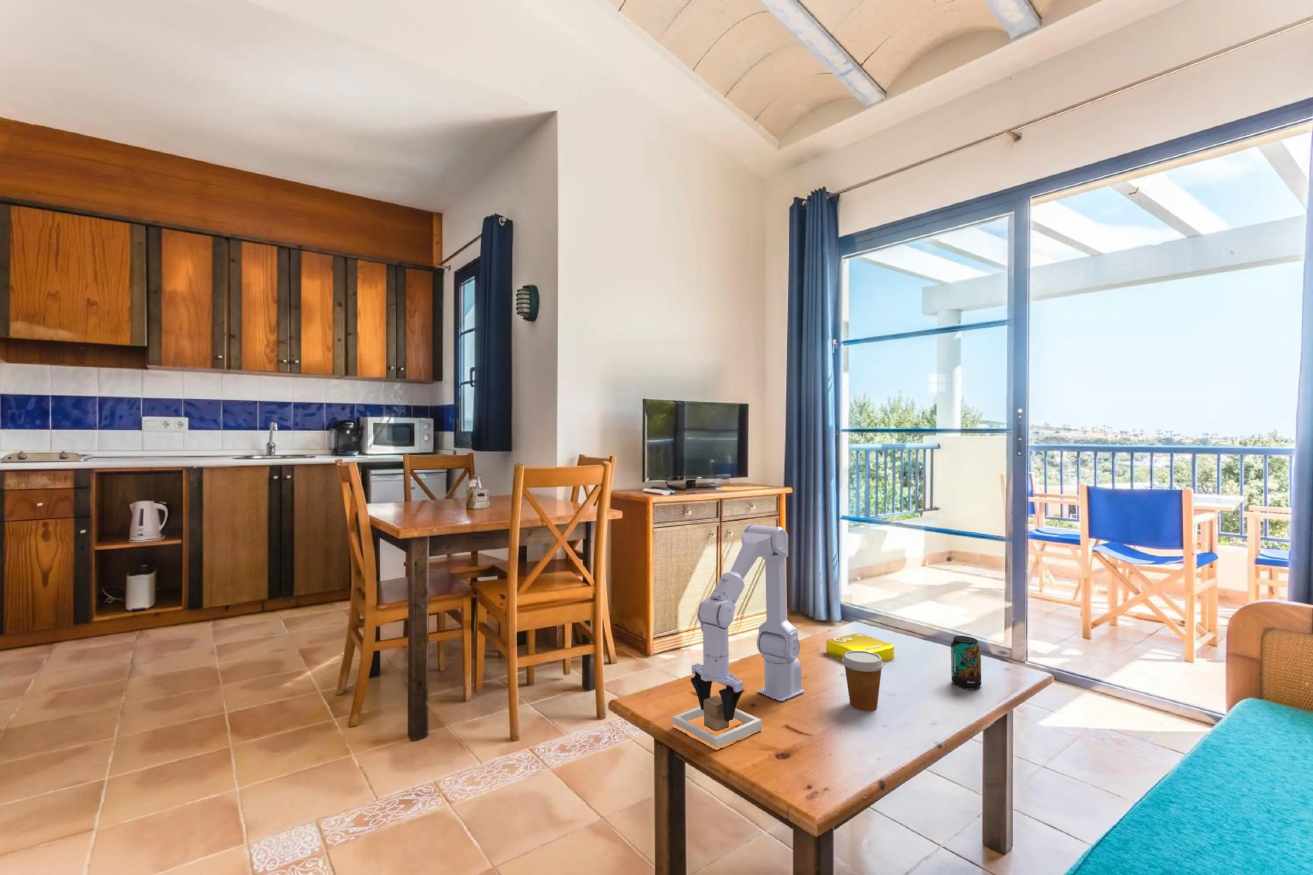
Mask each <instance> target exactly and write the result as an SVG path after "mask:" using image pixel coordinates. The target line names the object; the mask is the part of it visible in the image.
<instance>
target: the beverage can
mask: <svg viewBox="0 0 1313 875" xmlns="http://www.w3.org/2000/svg"><path fill="white" fill-rule="evenodd" d="M978 641H979V640H978V639H977V638H975V637H972V636H966V635H956V636H953V640H952V642H951V643H950V663H951V664H950V671H951V682H952V683H953V684H954V685H955V686H957V687H959V688H961V689H965V690H976V689H979V688H980V687H981V686H982V654H981V653H982V652H981V651H982V650H981V649H982V648H981V646H980V644H979V643H978Z"/></svg>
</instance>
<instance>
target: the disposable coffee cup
mask: <svg viewBox="0 0 1313 875" xmlns="http://www.w3.org/2000/svg"><path fill="white" fill-rule="evenodd" d="M841 661H842V663H843V665H844V669H845V670H844V671H845V678H846V684H847V691H848V696H849V697H848V699H849V700H848V701H849V705H850V706H851V708H853V709H855V710H859V711H862V712H872V711H875V710H877V709H878V703H879V693H880V684H881V675H882V670H883V667H884V663H885V662H882V659H881V656H879V655H878V654H875V653H872V652H868V651H858V650H856V651H849V652H846V653H845V654H844V658H843V659H842V660H841Z"/></svg>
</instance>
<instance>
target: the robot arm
mask: <svg viewBox="0 0 1313 875" xmlns="http://www.w3.org/2000/svg"><path fill="white" fill-rule="evenodd" d="M760 557H761V558H762V559H764V562H765V608H766V609H765V610H766V614H765V615H766V620H765V621H764V622H762V623H761V624H760V625H759V627H758V634H757V638H756V647H757V650H758V652H759V653H760V654H761V658H763V659H764V667H763V668H764V670H763V671H764V687H763V688H760V689H757V691H758V692H760V693H762V694H761V695H763V694H764V695H763V696H765V695H766V696H765V697H768V696H769V697H768V698H770V697H771V699H772V700H775V699H776V700H775V701H777V700H778V702H780V701H782V702H784V701H787V700H789V699H791V698H794V697H796V696H799V695H801V694H804V693H805V689H803V688H802V687H803V686H802V664H801V662H800V660H799V658H798V656H799V654H800V650H801V643H800V639H799V634H798V629H797V628H796V627H795V626H794V625H793V624H792V623H791V622H790V621H789V620H788V606H787V604H788V603H787V602H788V598H787V592H788V591H787V559H786V558H789V534H788V532H787V531H786V529H784V528H783V527H781V526H776V527H775V526H765V525H755V524H751V523H750V524H748V525H746V526H745V528H744V530H743V533H742V534H741V547H740V550H739V552H738V554H737V555H736V558H735V560H734V563H733V565H732V567H731V569H730V571H728V572H724V573H723V574H722V575H721V577H720V579H719V580H718V582H717V584H716V586H715V587H714V589H713V591H712V592H711V594H710V595H709V597H707V598H706V599H704V600H702V601H701V602H700V604H699V606H698V610H697V612H696V618H697V620H698V622H699V624H700V625H699V626H700V630H701V632H702V650H703V653H702V654H703V655H702V656H703V657H702V658H703V659H702V660H703V664H700V663H694V664H692V665H691V674H692V675H694V676H692V677H691V678H690V683H691V684H692V686H693V687H694V690H695V692H696V695H697V696H696V697H697V699H698V703H699V707H701V709H702V710H704V700H705V699H707V698H710V697H711V693H712V692H711V690H712V684H713V682H714V683H718V684H720V685H722V686H724V687H725V688H722V689H720V690H718V694H719V697H721V699H722V703H723V713H724V720H725V721H726V722H728V721H730V720H733V717H734V713H735V709H737V705H738V702H739V700H740V698H741V696H742V694H743V693H744V686H743V685H744V682H743V680H741V679H739V678H737V677H736V676H735V675H734V674H733V673H731V672H730V669H729V668H730V658H729V657H730V656H729V649H730V648H729V647H730V646H729V644H730V643H729V626H731V624H732V623H733V620H734V617H735V610H736V603H737V601H738V599H739V598H740V596H741V594H742V592H743V591H744V589H745V582H744V579H745V577H746V576H747V575H748V573H749V572H750V570H751V569H752V568H753V565H754V564H755V563H756V561H757V559H758V558H760ZM758 692H757V693H758ZM760 693H759V694H760ZM786 699H787V700H786Z"/></svg>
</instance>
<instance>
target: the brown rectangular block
mask: <svg viewBox="0 0 1313 875" xmlns="http://www.w3.org/2000/svg"><path fill="white" fill-rule="evenodd" d="M704 726H706V727H708V728H710V729H711V730H713V731H716V732H717V731H720V730H723V729H725V728H728V727H729V721H728V722H726V721H725V720H724V713H723V703H722V699H721V696H720V695H714V696H710V698H707V699H705V700H704Z"/></svg>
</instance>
